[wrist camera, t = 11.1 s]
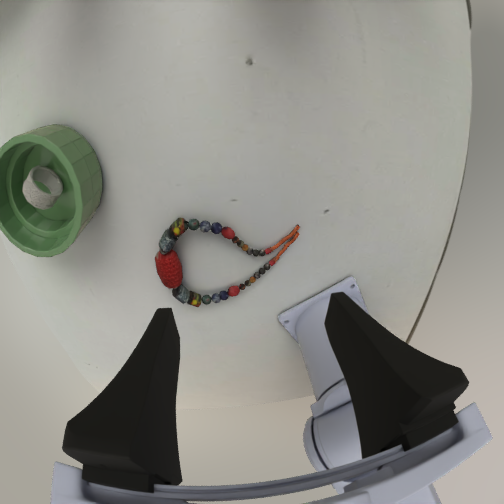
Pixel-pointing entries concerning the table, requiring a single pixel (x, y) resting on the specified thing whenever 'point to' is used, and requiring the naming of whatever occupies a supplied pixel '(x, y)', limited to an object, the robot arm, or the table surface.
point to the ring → (36, 194)
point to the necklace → (172, 268)
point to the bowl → (67, 205)
